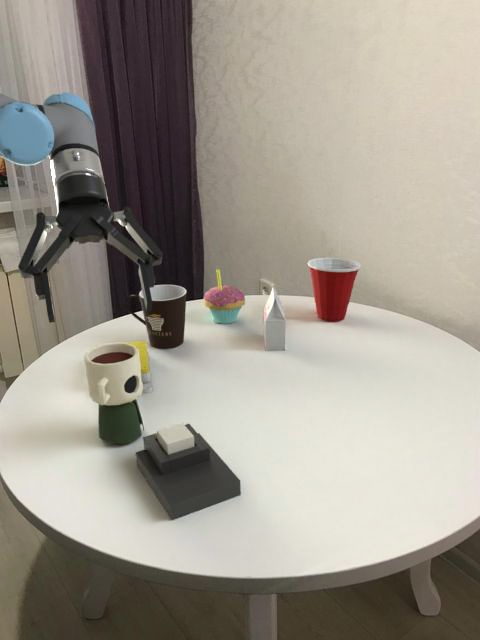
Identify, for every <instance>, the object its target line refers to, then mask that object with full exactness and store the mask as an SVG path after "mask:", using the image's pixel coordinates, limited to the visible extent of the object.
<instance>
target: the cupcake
mask: <svg viewBox="0 0 480 640" xmlns="http://www.w3.org/2000/svg"><path fill="white" fill-rule="evenodd" d="M215 271H216V279H217V286H213V287H212V288H209V290H207V291H206V292H205V294H204V295H203V305H204V306H205V308H208V310H209V311H210V313H211V314H210V315H211V316H212V320H213V321H214V322H215V323H217V324H220V325H228V324H232V323H235V322H236V321H237V320H238V316H239V313H240V311H241V309H242V307H243V306H245V304H246V296H245V293H244V292H243V291H242V290H240V289H239V288H237V287H235V286H234V285H230V284H226V285H225V284H222V278H221V271H220V269H219V267H218V266H216V270H215Z"/></svg>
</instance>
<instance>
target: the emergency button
mask: <svg viewBox="0 0 480 640" xmlns="http://www.w3.org/2000/svg"><path fill="white" fill-rule="evenodd" d="M126 343H127V344H131V345H133V346H136V348H137V349H138V350H139V358H140V363H141V381H142V383H143V390H142V394H149V393H151V392H152V391H153V383H152V372H151V364H150V356H149V355H150V354H149V351H148V345H147V342H146V341H144V340H140V341H129V342H126ZM99 345H100V344H98V345H95V346H94V347H96V346H99ZM142 394H141V395H142Z"/></svg>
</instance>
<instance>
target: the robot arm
mask: <svg viewBox="0 0 480 640" xmlns="http://www.w3.org/2000/svg"><path fill="white" fill-rule="evenodd" d="M99 153H100V152H99V147H98V140H97V134H96V124H95V122H94V119H93V115H92V112H91V109H90V106H89V105H88V103H87V101H85V99H83V98H82V97H80V96H79V95H77V94H75V93H71V92H65V91H64V92H62V93H58V94H57V93H53V94H51V95H48V97H46V99H45V100H44V101H43V103H42V104H38V103H37V104H34V103H29V102H25V101H21V100H17V99H15V98H12V97H10V96H9V95H8V96H7V95H5V94H3V93H0V157H1V158H3V159H4V160H5V161H7V162H8V163H10V164H14V165H18V166H35V165H37V164H40V163H41V162H43V161H45V160H46V159H47V158H49V164H50V169H51V176H52V182H53V187H54V195H55V201H56V209H57V214H56V215H54V216H52V215H50V216H49V215H46V214H45V213H44V212H42V211H41V212H37V213H36V216H35V218H36V219H35V222H36V223H35V228H34V230H33V232H32V235H31V237H30V239H29V241H28V243H27V245H26V247H25V250H24V252H23V255H22V257H21V259H20V261H19V263H18V271H19V275H20V277H21V278H22V279H32V280H33V283H34V284H33V285H34V291H35V295H36V298H37V299H38V300H39V301H42V300H45V306H46V313H47V314H46V315H47V318H48V323H49V324H51V323H56V320H55V313H54V305H53V299H52V292H51V285H50V278H49V272H50V271H51V269H52V268H53V267H54V266H55V264H56V263H57V262H58V261H59V260H60V258H61V257H62V255H63V254H64V253H65V251H67V249H69V248H70V247H71V246H72V245H73V243H78V245H83V244H88V243H93V244H95V243H100V242H101V241H104V242H106V243H107V244H109V245H111V246H113V247H115V248H116V249H117V250H118V251H119V252H121V253H122V254H123V255H125V256H126V257H128V258H129V259H130V260H131V261H132V262H134V263H135V264H136V265H138V276H139V281H140V286H141V290H142V292H143V297H144V302H145V307H146V311H149V310H151V309H152V303H153V302H152V297H151V292H150V288H152V287H154V286H156V285H155V284H156V277H155V272H154V267H155V266H160V265H161V264H162V262H163V254H164V253H163V252H162V250H161V249H160V248H159V246H157V244H156V243H155V242H154V241H153V239H152V237H150V236H149V235H148V233H147V232H146V231H145V229H144V228H143V227H142V225H140V224H139V222H138V221H137V220H136V218H135V217H134V214H133V210H132V208H131V207H130V206H124V207H123V209H122V210H119V211H113V210H112V209H111V208H110V204H109V199H108V192H107V188H106V185H105V178H104V172H103V169H102V163H101V157H100V154H99ZM115 222H118V223H119V224H120V225H121V226H122V227H125V229H126V231H127V232H128V234H129V235H130V236H131V237H132V238H133V239H134V241H135V242H136V244H137V245H136V244H135V243H134V242H132V241H131V240H130V239H129V238H127V237H126V236H124V235H123V233H121V232H119V231H118V229H117V228H116V227H115V226H114V223H115ZM54 226H56V227H57V228H58V229H59V230H60V231H59V233H58V236H56V238H55V240H53V242H52V243H51V244H50V246H49V247H48V248H47V249H46V251H45V252H44V253H43V255H41V257H39V254H40V252H41V251H42V248H43V246H44V243H45V241H46V239H47V233H50V232H51V231H52V229H53V227H54ZM38 257H39V259H38ZM37 260H38V261H37ZM36 261H37V262H36Z"/></svg>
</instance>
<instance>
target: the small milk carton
mask: <svg viewBox="0 0 480 640" xmlns="http://www.w3.org/2000/svg"><path fill="white" fill-rule="evenodd" d="M263 311H264V312H263V330H264V331H263V339H264V350H265V351H286V329H287V328H286V327H287V326H286V325H287V323H286V321H287V319H286V314H285V307H284V305H283V303H282V302H281V300H280V297H279V296H278V293H277V291H276V288H275V287H273V286H272V288H271V292H270V294H269V297H268V299H267V300H266V302H265V305H264V306H263Z"/></svg>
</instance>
